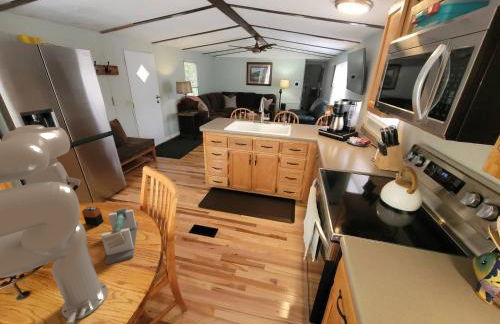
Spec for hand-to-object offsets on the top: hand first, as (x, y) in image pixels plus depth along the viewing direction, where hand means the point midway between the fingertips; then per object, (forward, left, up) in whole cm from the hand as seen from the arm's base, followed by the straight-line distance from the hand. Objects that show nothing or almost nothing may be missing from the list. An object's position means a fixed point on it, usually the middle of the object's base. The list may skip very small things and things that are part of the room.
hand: (58, 203), depth 77 cm
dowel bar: (+5, -16, -22) cm, 27 cm away
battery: (+26, 0, -28) cm, 39 cm away
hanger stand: (+5, -16, -28) cm, 33 cm away
